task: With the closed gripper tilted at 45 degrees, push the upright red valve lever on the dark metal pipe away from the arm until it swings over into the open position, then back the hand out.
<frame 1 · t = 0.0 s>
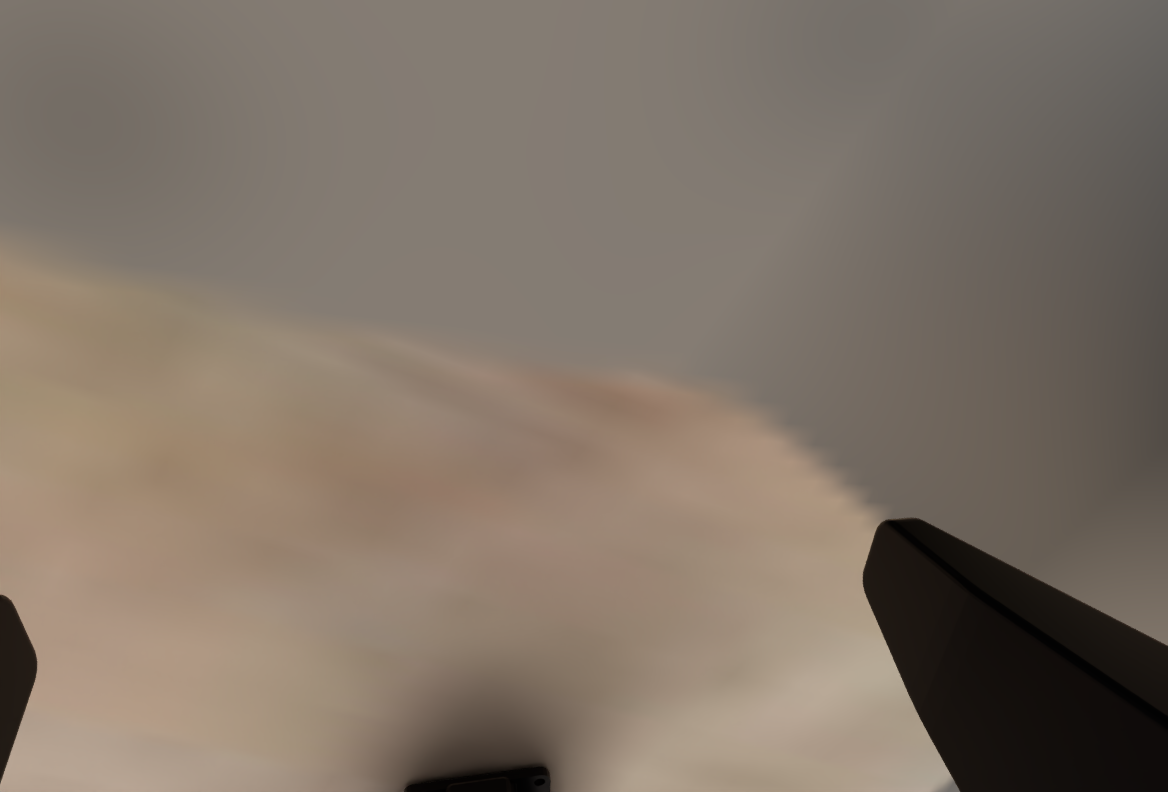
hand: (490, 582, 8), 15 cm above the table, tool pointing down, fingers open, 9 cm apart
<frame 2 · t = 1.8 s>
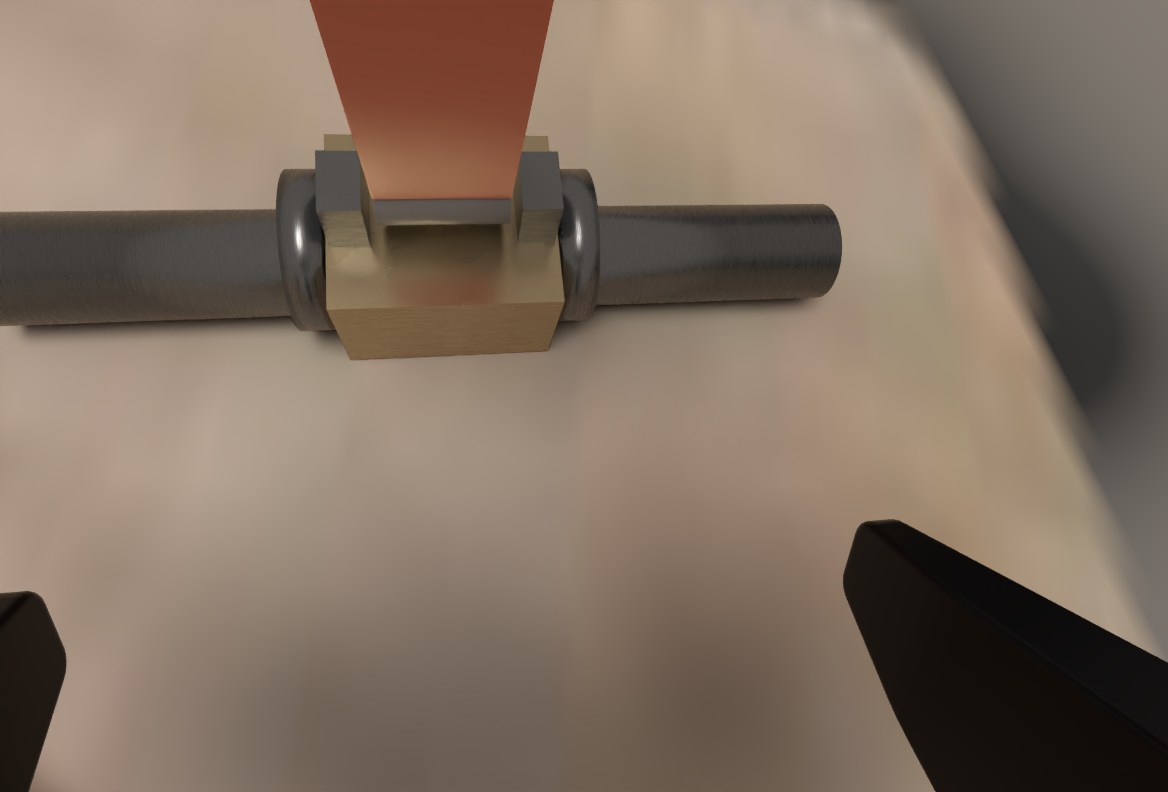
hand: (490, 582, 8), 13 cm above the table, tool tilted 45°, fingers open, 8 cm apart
valve lever: (434, 17, 11), point 12 cm above the table, hinge at -10.0°
pipe valve: (446, 280, 23), on the table
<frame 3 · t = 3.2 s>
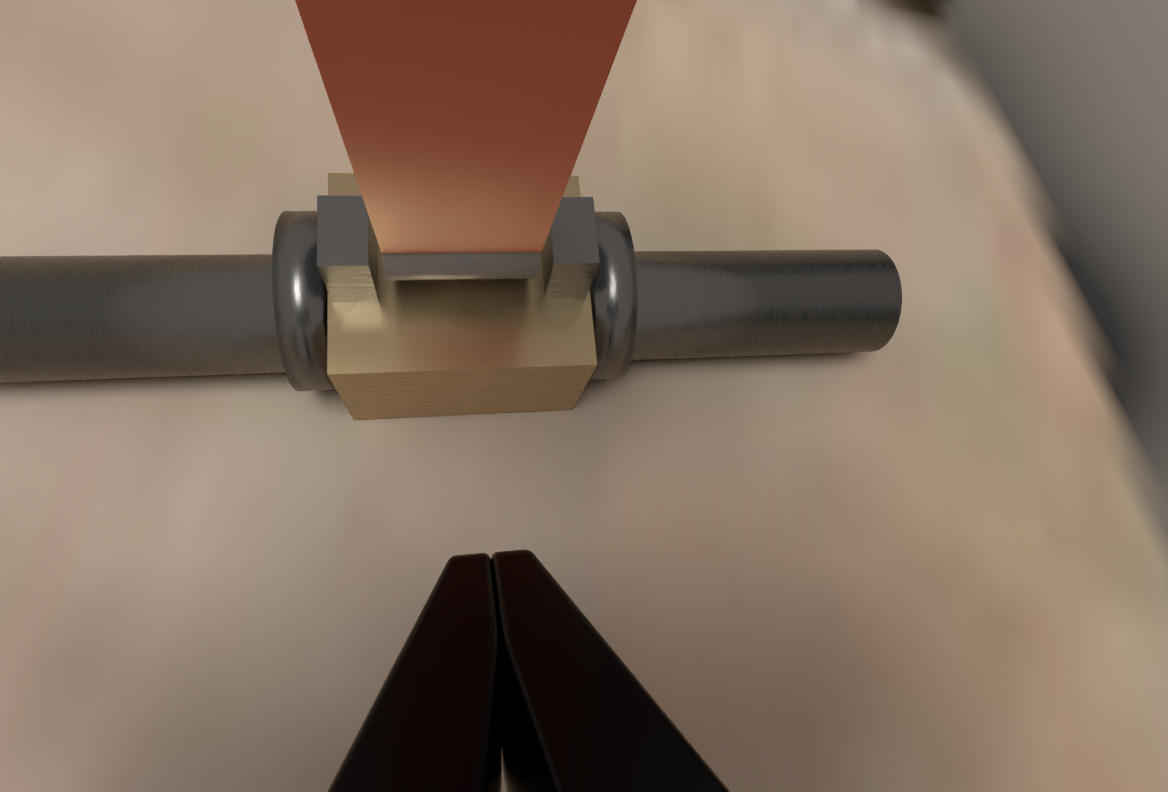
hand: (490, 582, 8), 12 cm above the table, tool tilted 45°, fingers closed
valve lever: (464, 55, 9), point 12 cm above the table, hinge at -10.0°
pipe valve: (461, 330, 21), on the table
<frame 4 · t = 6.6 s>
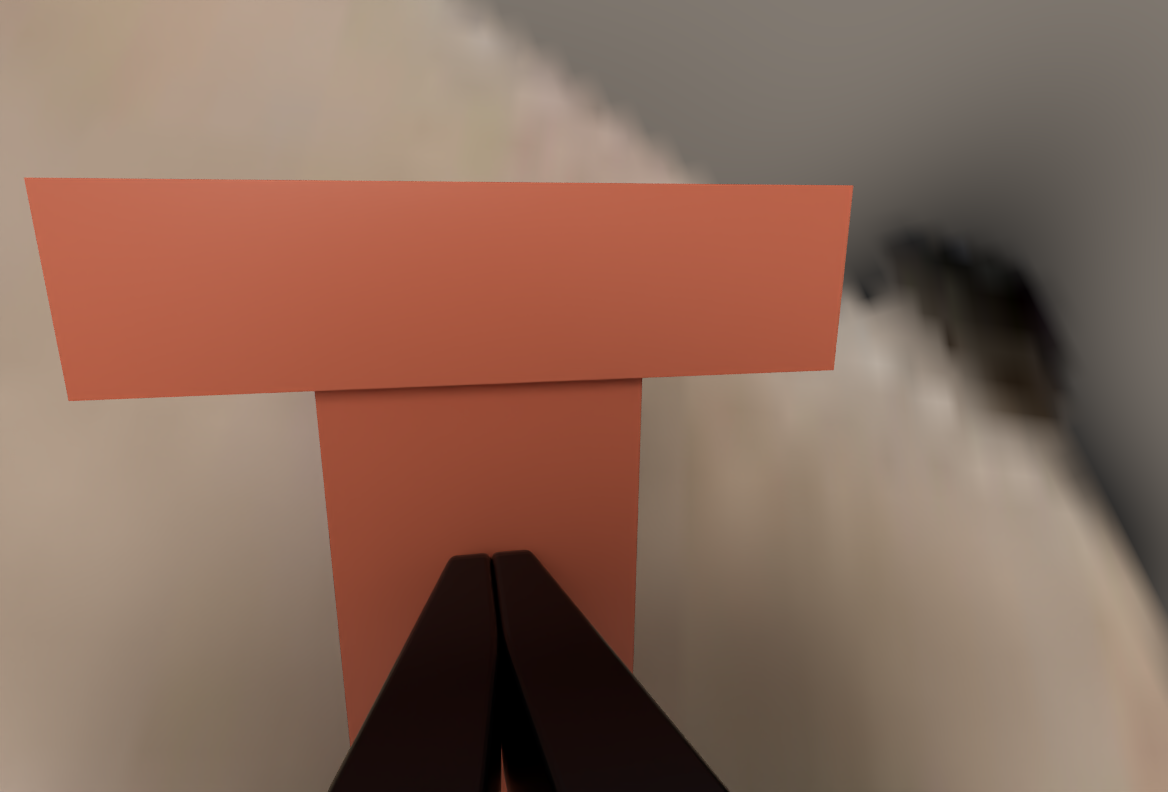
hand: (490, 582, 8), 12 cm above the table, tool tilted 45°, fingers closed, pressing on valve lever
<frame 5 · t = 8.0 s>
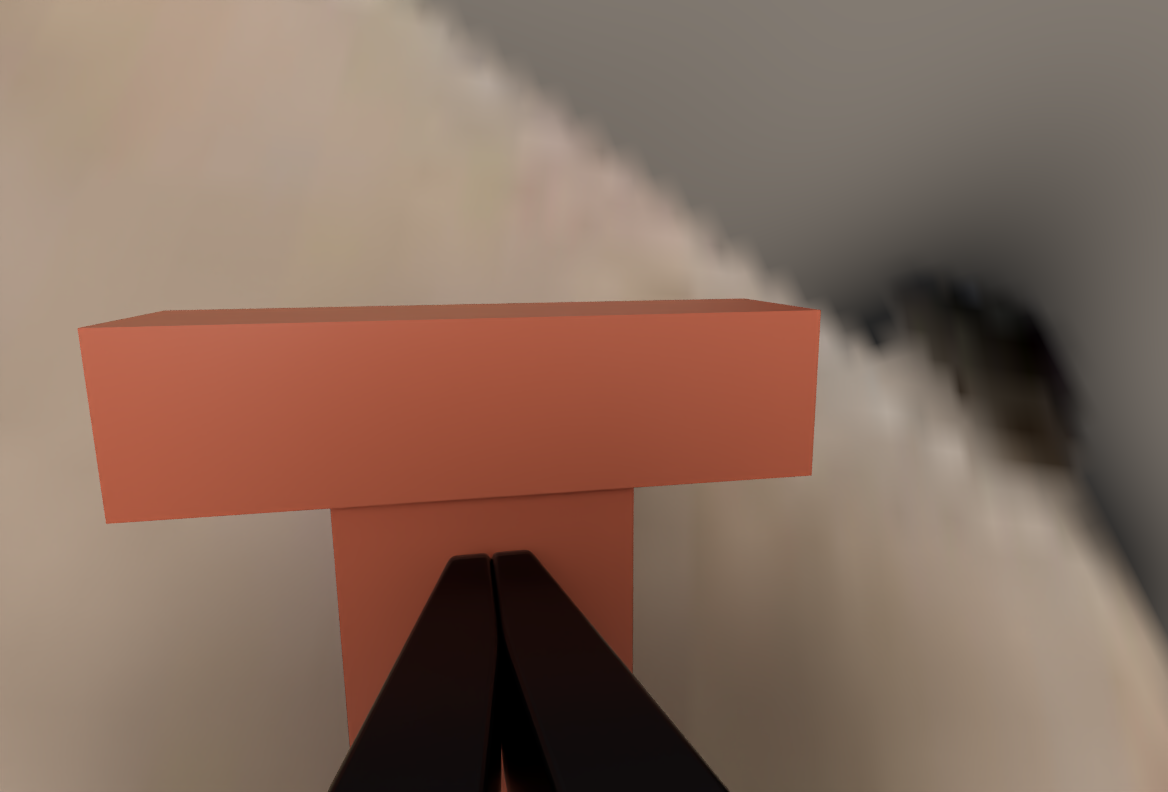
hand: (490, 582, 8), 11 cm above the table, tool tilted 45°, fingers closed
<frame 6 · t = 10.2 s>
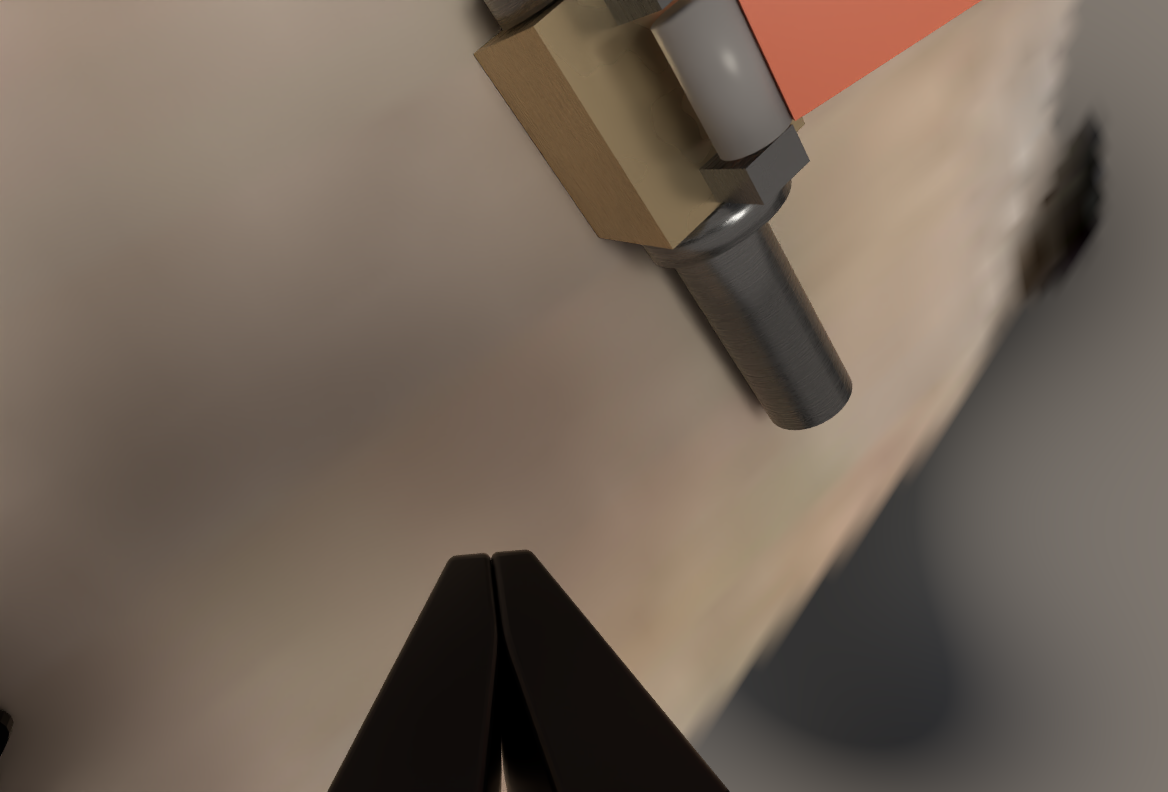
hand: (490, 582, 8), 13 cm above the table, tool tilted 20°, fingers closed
pipe valve: (604, 96, 20), on the table
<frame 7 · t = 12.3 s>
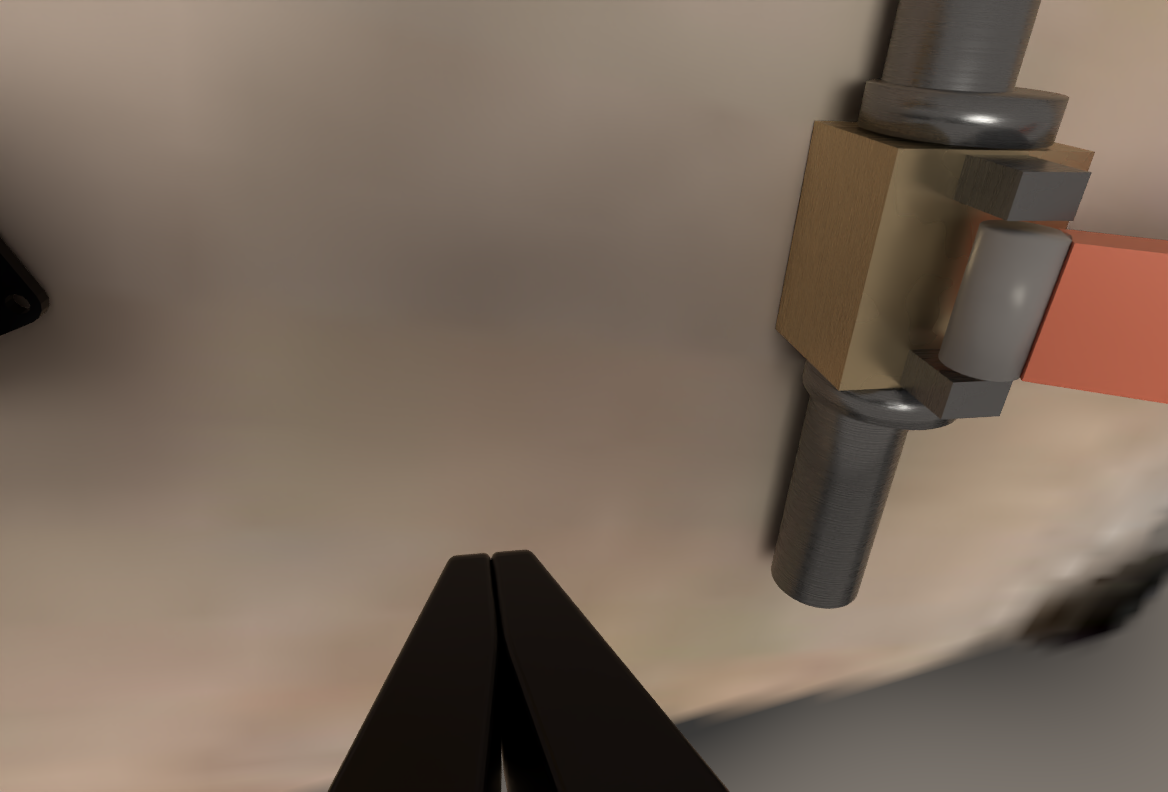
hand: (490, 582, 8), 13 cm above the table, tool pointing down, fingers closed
pipe valve: (873, 231, 21), on the table
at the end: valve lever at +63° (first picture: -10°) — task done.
